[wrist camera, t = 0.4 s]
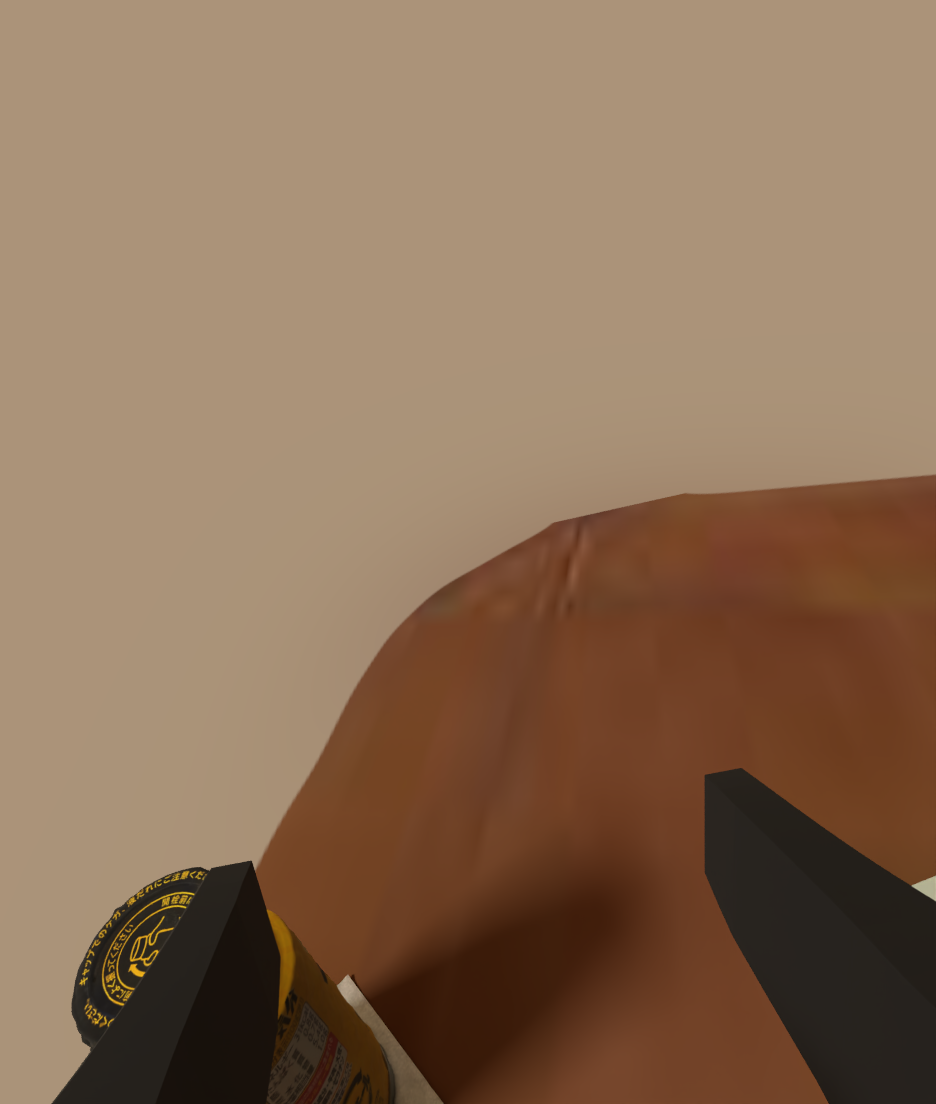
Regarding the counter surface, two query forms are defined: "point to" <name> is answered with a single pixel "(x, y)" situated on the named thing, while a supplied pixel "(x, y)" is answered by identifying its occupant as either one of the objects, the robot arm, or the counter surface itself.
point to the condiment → (303, 1016)
